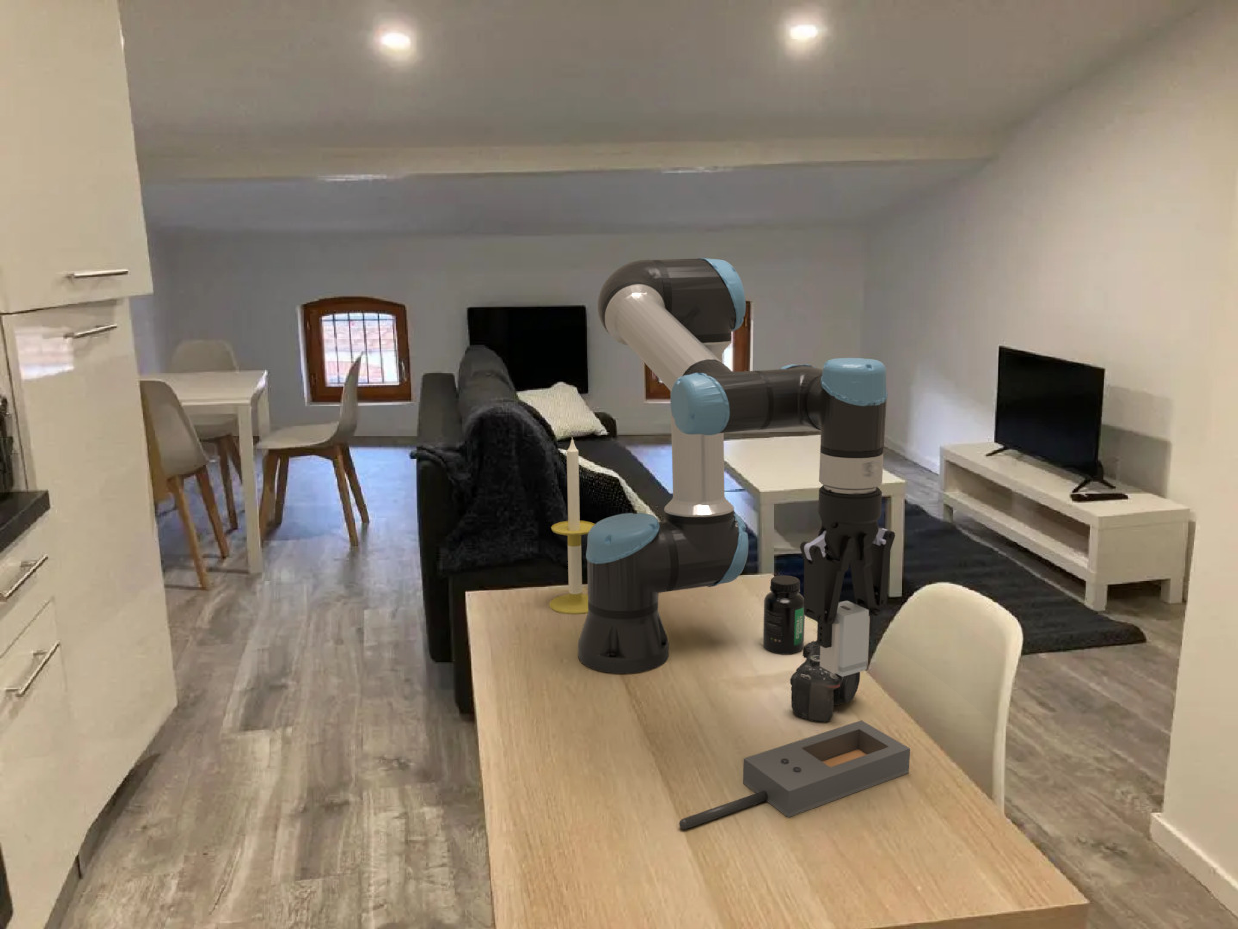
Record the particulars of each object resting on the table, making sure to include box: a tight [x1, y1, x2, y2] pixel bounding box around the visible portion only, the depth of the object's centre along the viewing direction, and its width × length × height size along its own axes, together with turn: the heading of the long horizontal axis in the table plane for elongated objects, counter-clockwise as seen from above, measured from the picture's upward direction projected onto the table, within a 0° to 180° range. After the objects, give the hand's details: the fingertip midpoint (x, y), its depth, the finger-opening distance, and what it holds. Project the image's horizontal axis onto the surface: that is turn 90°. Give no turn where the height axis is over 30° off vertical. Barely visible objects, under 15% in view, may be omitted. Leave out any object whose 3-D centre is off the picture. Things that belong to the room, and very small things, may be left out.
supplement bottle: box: [762, 575, 806, 655], centre depth 170 cm, size 7×7×12 cm
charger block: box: [835, 600, 869, 677], centre depth 127 cm, size 4×4×8 cm
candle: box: [549, 437, 596, 615], centre depth 188 cm, size 10×10×32 cm
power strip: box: [678, 720, 911, 830], centre depth 127 cm, size 33×9×4 cm, turn 120°
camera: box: [789, 639, 861, 723], centre depth 150 cm, size 13×10×10 cm
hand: (843, 665), depth 128 cm, fingers closed on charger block, 4 cm apart
